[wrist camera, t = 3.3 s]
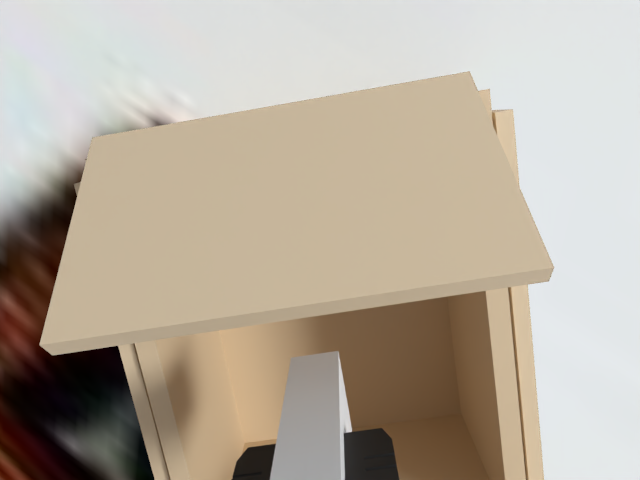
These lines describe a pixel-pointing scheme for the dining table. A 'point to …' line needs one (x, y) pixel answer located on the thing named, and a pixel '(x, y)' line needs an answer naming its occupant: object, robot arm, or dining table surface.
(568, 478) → the dining table surface
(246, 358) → the carton
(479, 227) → the flap
